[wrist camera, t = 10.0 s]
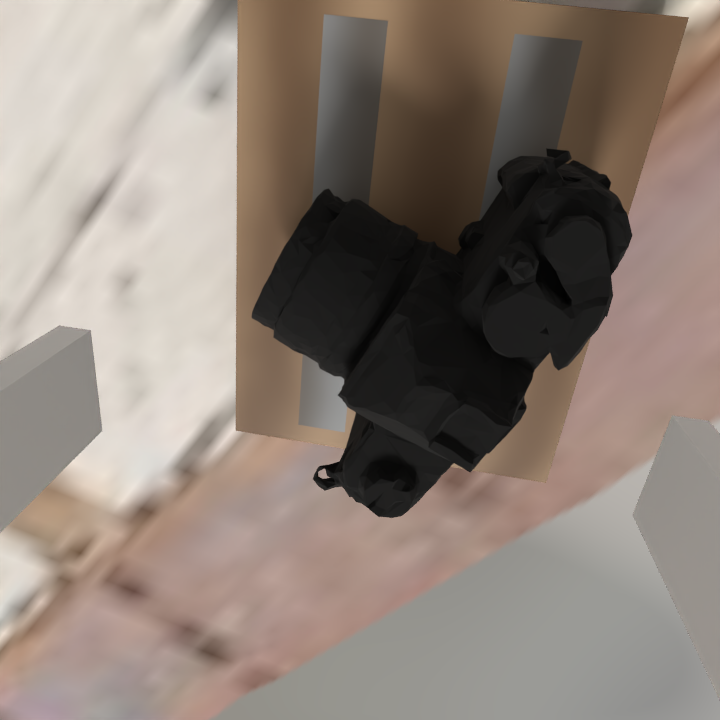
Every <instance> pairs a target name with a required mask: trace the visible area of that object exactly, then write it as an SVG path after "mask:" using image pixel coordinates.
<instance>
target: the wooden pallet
mask: <svg viewBox="0 0 720 720" xmlns="http://www.w3.org/2000/svg"><path fill="white" fill-rule="evenodd" d="M688 18H689V17H678V16H668V15H658V14H647V13H637V12H627V11H617V10H606V9H596V8H586V7H576V6H565V5H555V4H545V3H535V2H524V1H514V0H238V74H237V285H236V431H242V432H248V433H254V434H260V435H266V436H272V437H277V438H283V439H289V440H295V441H301V442H307V443H313V444H319V445H325V446H331V447H337V448H343V449H345V448H346V445H347V442H348V439H349V435H350V432H351V428H352V425H353V421H354V418H355V414H356V412H354V411H353V410H351V409H350V408H348V407H347V406H346V404H345V402H343V399H341V398H340V397H339V396H338V394H339V393H340V391H341V389H342V386H343V385H344V379H343V378H342V377H339V376H333V375H331V374H329V373H327V372H325V371H323V370H321V369H320V368H319V365H318V363H317V362H315V361H314V360H312V359H310V358H309V357H307V356H306V355H303V354H300V353H298V352H295V351H293V350H292V349H290V348H289V347H287V346H286V345H284V344H283V343H281V342H279V341H278V340H276V339H275V338H273V335H274V330H272V329H271V328H269V327H266V326H264V325H262V324H261V323H260V322H258V321H256V320H254V319H252V311H253V308H254V306H255V304H256V302H257V300H258V298H259V296H260V293H261V291H262V289H263V286H264V285H265V283H266V281H267V280H268V278H269V276H270V274H271V272H272V270H273V268H274V265H275V263H276V261H277V259H278V257H279V256H280V254H281V252H282V250H283V248H284V246H285V245H286V243H287V242H288V241H289V239H290V238H291V236H292V234H293V233H294V231H295V229H296V228H297V226H298V224H299V222H300V221H301V219H302V218H303V216H304V215H305V214H306V212H307V211H308V210H309V208H310V207H311V205H312V204H313V202H314V200H315V199H316V197H317V196H318V195H319V194H320V193H321V192H322V191H323V190H325V189H330V190H331V192H332V193H333V195H334V196H336V197H337V196H338V197H339V198H340V199H341V200H343V201H344V202H348V201H350V200H351V199H359V200H361V201H363V202H364V203H366V204H367V205H369V206H370V207H372V208H373V209H375V210H376V211H378V212H379V213H380V214H382V215H383V216H385V217H386V218H388V219H389V220H390V221H392V222H394V223H396V224H399V225H406V226H407V227H409V228H410V229H412V230H413V231H415V232H416V233H418V237H417V239H419V240H422V241H426V242H433V241H435V243H436V245H437V246H438V247H440V248H442V249H444V250H446V251H448V252H450V253H453V254H455V255H456V254H457V253H458V252H459V250H460V249H461V247H460V245H459V240H458V238H459V236H460V234H461V233H462V231H463V229H464V228H465V226H466V225H468V224H470V223H471V222H476V221H480V220H481V219H482V217H483V216H484V214H485V213H486V211H487V210H488V208H489V207H490V205H491V204H492V202H493V201H494V199H495V198H496V196H497V195H498V193H499V192H500V191H501V189H502V186H501V184H500V183H499V181H498V178H497V173H498V170H499V169H500V168H501V167H503V166H504V165H505V164H506V163H507V162H508V161H510V160H512V159H515V158H517V157H519V156H539V157H548V156H547V151H546V148H548V149H557V150H566V151H569V152H570V155H571V157H572V159H571V160H569V161H568V162H566V163H567V164H569V163H570V162H571V161H572V160H575V161H578V162H580V163H581V164H584V165H585V166H587V167H589V168H590V169H592V170H595V171H597V172H598V173H599V174H605V175H607V177H608V178H609V180H610V181H611V185H610V189H609V190H610V191H612V192H613V193H614V194H616V195H617V196H618V198H619V199H620V201H621V204H622V206H623V208H624V210H625V211H626V212H627V216H628V214H629V210H630V207H631V204H632V201H633V197H634V194H635V191H636V188H637V184H638V181H639V178H640V175H641V171H642V168H643V165H644V162H645V158H646V155H647V152H648V149H649V145H650V142H651V139H652V136H653V132H654V129H655V126H656V122H657V119H658V116H659V113H660V109H661V106H662V103H663V100H664V96H665V93H666V90H667V87H668V83H669V80H670V77H671V74H672V70H673V67H674V64H675V61H676V57H677V54H678V51H679V48H680V44H681V41H682V38H683V35H684V31H685V28H686V25H687V22H688ZM551 158H553V157H551ZM589 341H590V339H589V340H588V341H587V343H586V344H585V346H584V347H583V349H582V350H581V352H580V353H579V354H578V355H577V356H576V357H575V359H574V360H573V361H572V362H571V363H570V364H569V365H568V366H567V367H565V368H563V369H561V370H559V371H558V370H557V369H556V368H555V367H554V365H553V361H552V357H551V354H550V353H549V354H548V355H547V356H546V358H545V359H544V360H543V361H542V362H541V363H540V364H539V366H538V367H537V368H536V369H535V371H534V373H533V378H532V381H531V383H530V385H529V387H528V389H527V391H526V393H525V396H524V398H525V403H526V405H527V409H526V411H525V413H524V415H523V416H522V418H521V420H520V421H519V422H518V423H517V424H516V426H515V427H514V428H513V429H512V430H511V431H510V432H509V433H508V434H507V436H506V437H505V438H504V439H503V440H502V441H501V442H500V443H499V444H498V445H497V446H496V447H495V448H494V449H493V450H492V451H491V452H490V453H489V454H488V453H487V454H486V455H485V456H484V457H483V458H482V460H481V461H480V462H479V463H478V465H477V466H476V467H475V468H474V469H473V471H479V472H485V473H490V474H496V475H502V476H508V477H514V478H520V479H526V480H532V481H538V482H544V483H546V481H547V478H548V474H549V471H550V468H551V464H552V461H553V458H554V455H555V451H556V448H557V445H558V442H559V438H560V435H561V432H562V429H563V425H564V422H565V419H566V416H567V412H568V409H569V406H570V403H571V399H572V396H573V393H574V390H575V386H576V383H577V380H578V377H579V373H580V370H581V367H582V364H583V360H584V357H585V354H586V350H587V347H588V344H589ZM451 467H455V468H461V469H464V468H462V467H460V466H458V465H456V464H455V463H454V464H453V465H452V466H451Z"/></svg>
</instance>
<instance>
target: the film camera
mask: <svg viewBox="0 0 720 720" xmlns="http://www.w3.org/2000/svg"><path fill="white" fill-rule="evenodd" d="M546 151H547V156H548V157H539V156H519V157H517V158H515V159H512V160H510V161H508V162H507V163H506V164H505V165H504V166H503V167H501V168H500V169H499V170H498V173H497V178H498V181H499V183H500V184H501V186H502V189H501V191H500V192H499V193H498V195H497V196H496V198H495V199H494V201H493V202H492V204H491V205H490V207H489V208H488V210H487V211H486V213H485V214H484V216H483V217H482V219H481V220H480V221H476V222H471V223H470V224H468V225H466V226H465V228H464V229H463V231H462V233H461V234H460V236H459V238H458V240H459V245H460V247H461V249H460V250H459V252H458V253H457V254H456V255H455V254H453V253H450V252H448V251H446V250H444V249H442V248H440V247H438V246H437V245H436V243H435V241H433V242H426V241H422V240H419V239H417V237H418V233H416V232H415V231H413V230H412V229H410V228H409V227H407V226H406V225H399V224H396V223H394V222H392V221H390V220H389V219H388V218H386V217H385V216H383V215H382V214H380V213H379V212H378V211H376V210H375V209H373V208H372V207H370V206H369V205H367V204H366V203H364V202H363V201H361V200H359V199H351V200H350V201H348V202H344V201H343V200H341V199H340V198H339V197H338V196H337V197H336V196H334V195H333V193H332V192H331V190H330V189H325V190H323V191H322V192H321V193H320V194H319V195H318V196H317V197H316V199H315V200H314V202H313V204H312V205H311V207H310V208H309V210H308V211H307V212H306V214H305V215H304V216H303V218H302V219H301V221H300V222H299V224H298V226H297V228H296V229H295V231H294V233H293V234H292V236H291V238H290V239H289V241H288V242H287V243H286V245H285V246H284V248H283V250H282V252H281V254H280V256H279V257H278V259H277V261H276V263H275V265H274V268H273V270H272V272H271V274H270V276H269V278H268V280H267V281H266V283H265V285H264V286H263V289H262V291H261V293H260V296H259V298H258V300H257V302H256V304H255V306H254V308H253V311H252V319H254V320H256V321H258V322H260V323H261V324H262V325H264V326H266V327H269V328H271V329H272V330H274V335H273V338H275V339H276V340H278V341H279V342H281V343H283V344H284V345H286V346H287V347H289V348H290V349H292V350H293V351H295V352H298V353H300V354H303V355H306V356H307V357H309V358H310V359H312V360H314V361H315V362H317V363H318V365H319V368H320V369H321V370H323V371H325V372H327V373H329V374H331V375H333V376H339V377H342V378H343V379H344V385H343V386H342V389H341V391H340V393H339V394H338V396H339V397H340V398H341V399H343V402H345V404H346V406H347V407H348V408H350V409H351V410H353V411H354V412H356V414H355V418H354V421H353V425H352V428H351V432H350V435H349V439H348V442H347V445H346V448H345V451H344V453H343V455H342V458H341V460H340V462H336V463H333V464H330V465H323V466H319V467H318V469H317V471H316V473H315V475H314V478H313V480H314V481H315V482H316V483H317V485H318V486H319V487H320V488H322V489H323V490H328V489H331V488H334V487H341V486H342V487H343V488H344V489H345V491H346V492H347V494H348V495H349V497H353V498H354V500H355V501H356V502H359V503H362V504H363V505H365V506H366V507H368V508H369V509H370V510H371V511H372V512H373V513H375V514H376V515H377V516H378V517H390V518H393V517H399V516H402V515H403V514H405V513H406V512H407V511H408V510H409V509H410V508H411V507H413V506H414V505H415V504H416V503H417V502H418V501H419V500H420V499H421V498H422V497H423V495H424V494H425V493H426V492H427V491H428V490H429V489H430V488H431V487H432V486H433V485H434V484H435V483H436V482H437V481H438V479H439V478H440V477H441V475H442V474H444V473H445V472H446V471H447V470H448V469H449V468H450V467H451V466H452V465H453V464H454V463H455V464H456V465H458V466H460V467H462V468H464V469H465V470H467V471H469V472H471V471H472V470H473V469H474V468H475V467H476V466H477V465H478V463H479V462H480V461H481V460H482V458H483V457H484V456H485V455H486V454H487V453H488V454H489V453H490V452H491V451H492V450H493V449H494V448H495V447H496V446H497V445H498V444H499V443H500V442H501V441H502V440H503V439H504V438H505V437H506V436H507V434H508V433H509V432H510V431H511V430H512V429H513V428H514V427H515V426H516V424H517V423H518V422H519V421H520V420H521V418H522V416H523V415H524V413H525V411H526V409H527V405H526V403H525V398H524V396H525V393H526V391H527V389H528V387H529V385H530V383H531V381H532V378H533V373H534V371H535V369H536V368H537V367H538V366H539V364H540V363H541V362H542V361H543V360H544V359H545V358H546V356H547V355H548V354H549V353H550V354H551V357H552V361H553V365H554V367H555V368H556V369H557V370H558V371H559V370H561V369H563V368H565V367H567V366H568V365H569V364H570V363H571V362H572V361H573V360H574V359H575V357H576V356H577V355H578V354H579V353H580V352H581V350H582V349H583V347H584V346H585V344H586V343H587V341H588V340H589V339H590V337H591V336H592V335H593V334H594V333H595V332H596V331H597V330H598V328H599V326H600V325H601V323H602V321H603V319H604V318H605V316H606V317H607V314H608V311H609V307H610V304H611V300H612V297H613V292H612V282H611V275H612V273H613V272H614V271H615V269H616V268H617V266H618V264H619V262H620V261H621V259H622V258H623V256H624V254H625V252H626V250H627V248H628V246H629V243H630V240H631V237H632V233H631V228H630V224H629V220H628V216H627V212H626V211H625V210H624V208H623V206H622V204H621V201H620V199H619V198H618V196H617V195H616V194H614V193H613V192H612V191H610V190H609V189H610V185H611V181H610V180H609V178H608V177H607V175H605V174H599V173H598V172H597V171H595V170H592V169H590V168H589V167H587V166H585V165H584V164H581V163H580V162H578V161H575V160H572V161H571V162H570V163H569V164H567V163H566V162H568V161H569V160H571V159H572V157H571V155H570V152H569V151H566V150H557V149H548V148H546ZM551 157H553V158H551ZM324 468H325V469H326V473H327V476H329V477H330V478H327V479H322V478H320V477H318V471H320V470H322V469H324Z"/></svg>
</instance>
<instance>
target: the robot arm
mask: <svg viewBox="0 0 720 720" xmlns="http://www.w3.org/2000/svg"><path fill="white" fill-rule="evenodd" d="M101 431H102V424H101V416H100V407H99V398H98V389H97V381H96V372H95V363H94V355H93V346H92V337H91V330H85V329H78V328H72V327H65V326H58V327H56V328H55V329H53V330H51V331H50V332H48V333H46V334H45V335H43V336H41V337H40V338H38V339H36V340H35V341H33V342H31V343H30V344H28V345H27V346H25V347H23V348H22V349H20V350H18V351H17V352H15V353H13V354H12V355H10V356H8V357H7V358H5V359H4V360H2V361H0V533H1V532H2V531H3V530H4V529H5V528H6V527H7V526H8V525H9V524H10V523H11V522H12V521H13V520H14V519H15V518H16V517H17V516H18V515H19V514H20V513H21V512H22V511H23V510H24V509H25V508H26V507H27V506H28V505H29V504H30V503H31V502H32V501H33V500H34V499H35V498H36V497H37V496H38V495H39V494H40V493H41V492H42V491H43V490H44V489H45V488H46V487H47V486H48V485H49V484H50V483H51V481H52V480H53V479H54V478H55V477H56V476H57V475H58V474H59V473H60V472H61V471H62V470H63V469H64V468H65V467H66V466H67V465H68V464H69V463H70V462H71V461H72V460H73V459H74V458H75V457H76V456H77V455H78V454H79V453H80V452H81V451H82V450H83V449H84V448H85V447H86V446H87V445H88V444H89V443H90V442H91V441H92V440H93V439H94V438H95V437H96V436H97V435H98V434H99V433H100V432H101ZM633 517H634V519H635V521H636V523H637V525H638V527H639V530H640V532H641V533H642V536H643V538H644V540H645V542H646V544H647V546H648V549H649V551H650V553H651V555H652V557H653V559H654V561H655V563H656V566H657V568H658V570H659V572H660V574H661V576H662V578H663V581H664V583H665V585H666V587H667V589H668V591H669V593H670V596H671V597H672V600H673V602H674V604H675V606H676V608H677V610H678V613H679V615H680V617H681V619H682V621H683V623H684V625H685V627H686V630H687V632H688V634H689V636H690V638H691V640H692V642H693V644H694V646H695V649H696V651H697V653H698V655H699V657H700V659H701V661H702V664H703V666H704V668H705V670H706V672H707V674H708V676H709V678H710V680H711V683H712V684H713V687H714V689H715V691H716V693H717V695H718V698H719V700H720V434H719V433H718V431H717V430H716V429H715V428H714V426H713V425H712V424H711V423H710V422H709V421H706V420H700V419H693V418H686V417H679V416H672V417H671V420H670V422H669V425H668V427H667V430H666V432H665V435H664V437H663V440H662V442H661V445H660V447H659V450H658V452H657V455H656V457H655V460H654V462H653V465H652V468H651V470H650V472H649V475H648V477H647V480H646V483H645V485H644V487H643V490H642V492H641V495H640V497H639V500H638V503H637V505H636V508H635V510H634V512H633Z"/></svg>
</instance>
